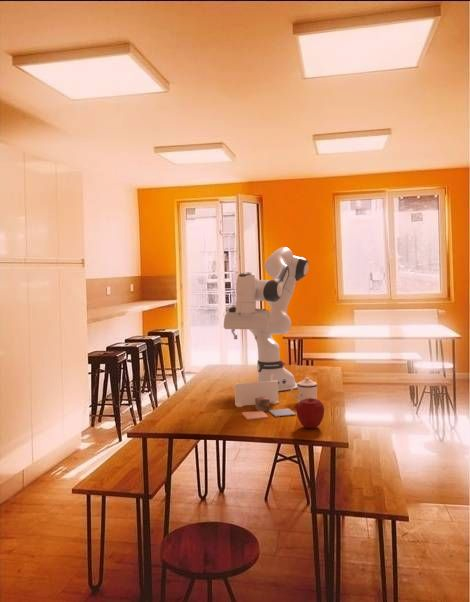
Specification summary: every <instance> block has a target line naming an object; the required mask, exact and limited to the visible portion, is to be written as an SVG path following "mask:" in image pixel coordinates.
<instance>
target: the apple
mask: <svg viewBox="0 0 470 602" xmlns="http://www.w3.org/2000/svg"><path fill="white" fill-rule="evenodd" d="M295 411H296V417H297V418H298V421H299V422H300V425H301V426H303V427H304V428H306V429H309V430H313V429H317V427H319V426H320V425H321V423H322V421H323V419H324V415H325V406H324V404H323V402H321V401H320V400H319V399H318V398H317V399H314V398H308V399H304V400H301V401H300V402H299V403H298V402H297V406H296V410H295Z"/></svg>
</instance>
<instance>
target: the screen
mask: <svg viewBox="0 0 470 602" xmlns="http://www.w3.org/2000/svg"><path fill="white" fill-rule="evenodd" d="M257 397H266V398H268V399H269V400H270V404H273V405H276V404H277V405H279V404H280V401H279V391H278V381H277V380H276V381H262V382H257V381H251V382H239V383H234V405H235V406H236V407H237V408H243V407H244V406H256V405H255V398H257ZM278 403H279V404H278Z"/></svg>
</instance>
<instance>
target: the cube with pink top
mask: <svg viewBox="0 0 470 602" xmlns="http://www.w3.org/2000/svg"><path fill="white" fill-rule="evenodd" d="M270 404H271V403H270V400H269V399H268V398H266V397H257V398H255V405H254V406H255V409H256V411H263V412H265V411H269V410H271V409H270V406H271V405H270Z"/></svg>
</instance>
